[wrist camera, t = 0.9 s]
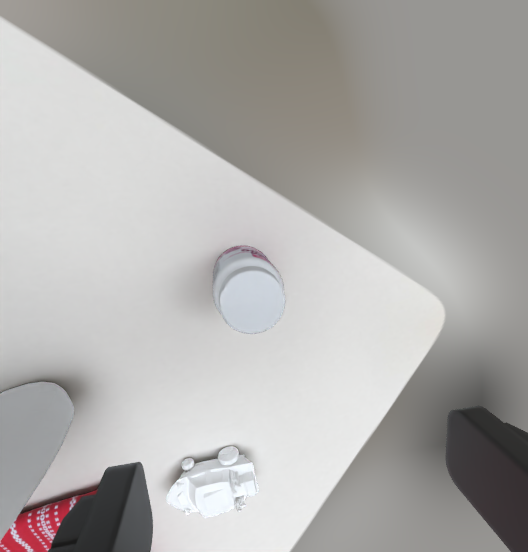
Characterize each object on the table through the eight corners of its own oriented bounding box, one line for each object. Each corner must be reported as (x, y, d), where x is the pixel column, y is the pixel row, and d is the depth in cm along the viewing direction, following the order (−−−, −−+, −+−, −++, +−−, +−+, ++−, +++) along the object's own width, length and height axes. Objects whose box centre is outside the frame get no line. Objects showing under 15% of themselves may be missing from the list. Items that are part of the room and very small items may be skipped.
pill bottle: (272, 245, 29) (296, 265, 21) (268, 301, 30) (289, 341, 22) (214, 242, 28) (214, 262, 20) (211, 299, 29) (211, 340, 21)
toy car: (258, 481, 34) (264, 520, 30) (176, 504, 33) (170, 546, 29) (248, 440, 33) (253, 474, 29) (163, 462, 32) (155, 501, 28)
